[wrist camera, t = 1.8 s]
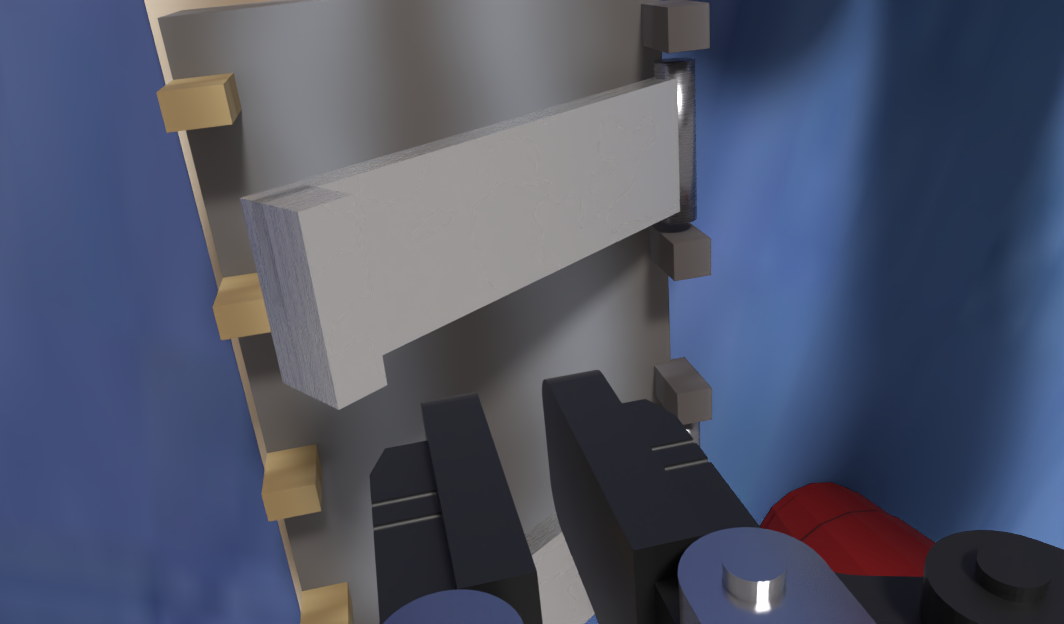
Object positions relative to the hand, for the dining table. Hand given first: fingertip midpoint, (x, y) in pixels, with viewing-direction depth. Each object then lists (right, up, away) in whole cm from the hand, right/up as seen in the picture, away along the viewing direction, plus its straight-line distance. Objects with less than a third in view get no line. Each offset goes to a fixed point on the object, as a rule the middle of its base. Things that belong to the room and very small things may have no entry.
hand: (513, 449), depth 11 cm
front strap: (0, +5, +11) cm, 12 cm away
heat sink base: (-3, +3, +22) cm, 23 cm away
